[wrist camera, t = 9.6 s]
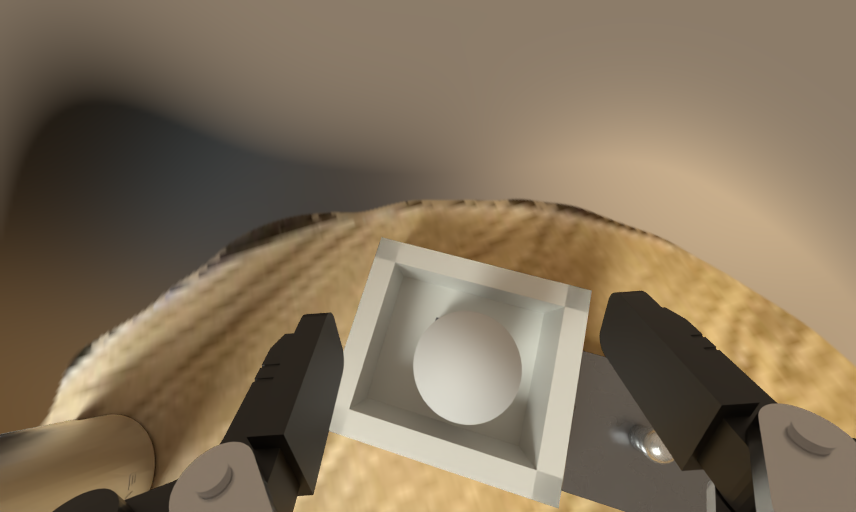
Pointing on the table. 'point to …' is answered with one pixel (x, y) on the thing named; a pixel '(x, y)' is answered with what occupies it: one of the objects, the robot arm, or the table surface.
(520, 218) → the table surface
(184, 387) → the table surface
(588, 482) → the stud plate
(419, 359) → the knob
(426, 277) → the bin
